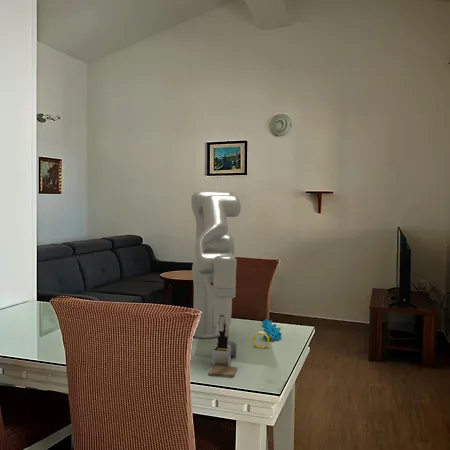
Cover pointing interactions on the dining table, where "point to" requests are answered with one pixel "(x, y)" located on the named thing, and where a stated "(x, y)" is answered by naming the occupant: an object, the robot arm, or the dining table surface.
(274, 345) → the dining table surface
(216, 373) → the board
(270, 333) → the gear
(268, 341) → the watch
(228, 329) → the tan wooden bar
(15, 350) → the dining table surface
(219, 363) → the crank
